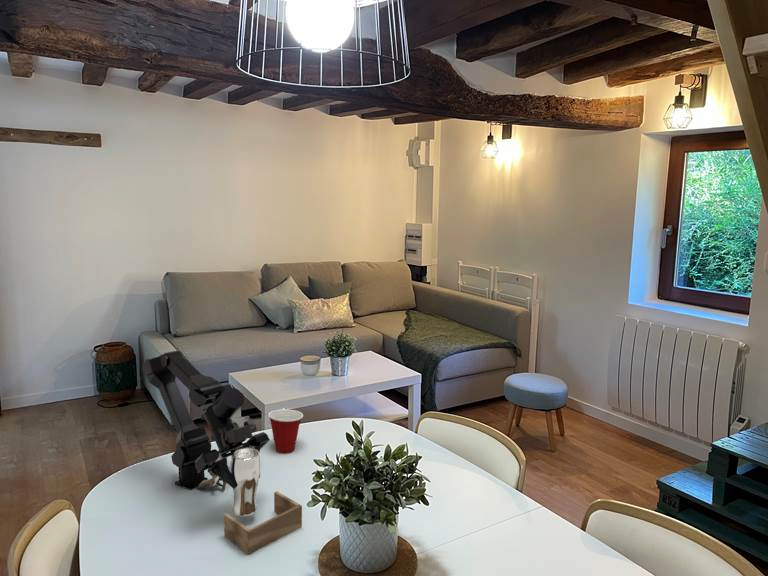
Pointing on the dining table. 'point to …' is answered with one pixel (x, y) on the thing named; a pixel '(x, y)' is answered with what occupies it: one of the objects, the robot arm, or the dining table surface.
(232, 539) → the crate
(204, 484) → the eagle figurine
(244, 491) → the beer glass
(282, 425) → the plastic cup
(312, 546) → the dining table surface
